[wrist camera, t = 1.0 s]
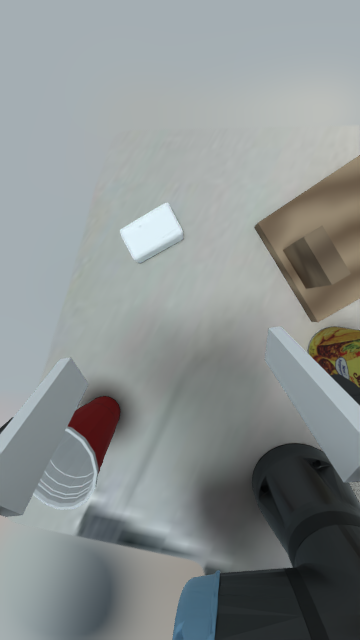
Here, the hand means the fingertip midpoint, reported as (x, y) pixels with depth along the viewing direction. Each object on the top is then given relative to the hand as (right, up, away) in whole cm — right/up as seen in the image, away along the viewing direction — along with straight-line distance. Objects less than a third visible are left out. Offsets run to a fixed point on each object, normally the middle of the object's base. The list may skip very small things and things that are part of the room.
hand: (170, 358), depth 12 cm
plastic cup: (-14, -14, +21) cm, 29 cm away
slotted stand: (+25, +15, +15) cm, 32 cm away
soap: (-4, +17, +18) cm, 25 cm away
